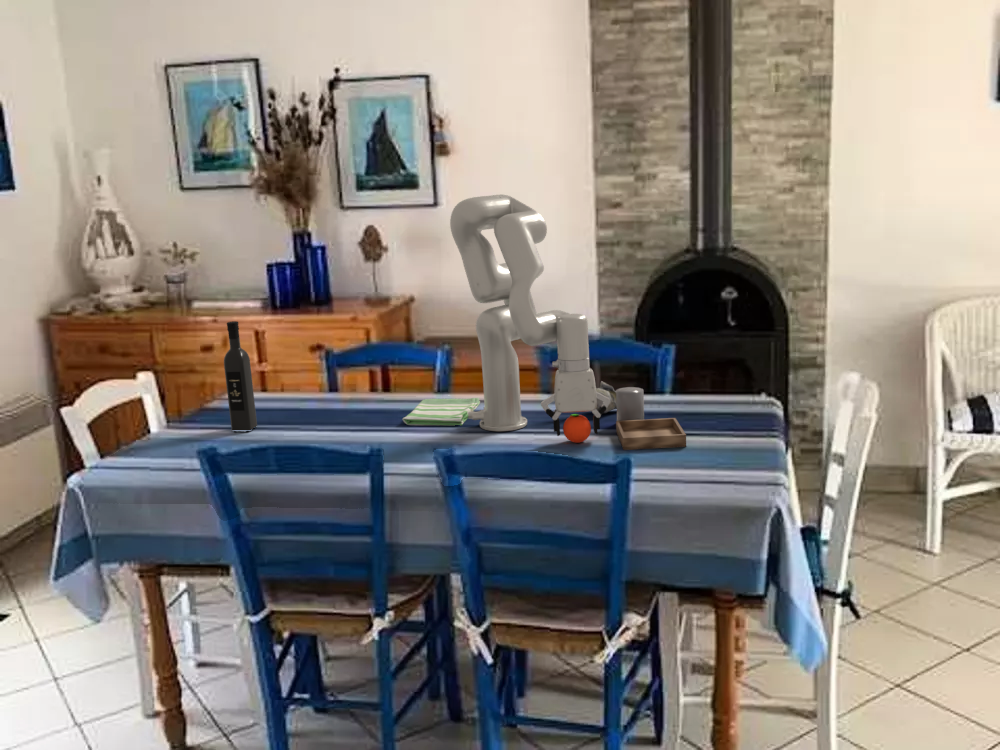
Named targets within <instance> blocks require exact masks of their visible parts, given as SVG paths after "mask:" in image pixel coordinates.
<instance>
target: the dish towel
mask: <svg viewBox="0 0 1000 750" xmlns="http://www.w3.org/2000/svg"><path fill="white" fill-rule="evenodd" d="M480 404H481V401H480V397H472V398H426V399H425V398H424V399H422V400H421V401H420V402H418V404H417V405H416V406H415V407H414V409H412V411H410V413H408V414H407V415H406V416H405V417H403V418H402V419H401V420H402V421H403V423H404V424H406V425H407V426H455V425H460V426H459V427H462V426H463V424H464V423H465V422H466V421H467V420H468V412H472V411H475V410H476V409H477V408H478V407H479V405H480Z"/></svg>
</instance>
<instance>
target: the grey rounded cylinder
mask: <svg viewBox="0 0 1000 750" xmlns="http://www.w3.org/2000/svg"><path fill="white" fill-rule="evenodd" d="M615 391H616V404H617V409H616V421H626V420H645V398H644V389H643V388H641V387H634V386H627V387H620V388H617V389H616V390H615Z"/></svg>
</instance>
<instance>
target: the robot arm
mask: <svg viewBox="0 0 1000 750" xmlns="http://www.w3.org/2000/svg"><path fill="white" fill-rule="evenodd" d="M449 220H450V221H449V225H450V227H449V228H450V232H451V236H452V239H453V240H454V243H455V245H456V246H457V247H456V248H457V249H458V251H459V253H460V256H461V257H460V258H461V260H462V265H463V267H464V270H465V274H466V278H467V282H468V285H469V288H470V291H471V294H472V297H473V298H474V299H475V301H476V302H478V303H480V304H492V303H497V302H501V301H503V302H504V305H499V306H493V307H491V308H488V309H485V310H483V311H482V312H481V313H480V314H479V315H478V316H477V319H476V321H475V332H476V335H477V340H478V343H479V348H480V356H481V358H480V359H481V369H482V370H481V371H482V384H483V402H484V404H483V405H484V407H483V409H480V410H479V411H475V410H473V411H472V412H468V418H467V420H472V421H477V420H478V421H479V420H480V421H479V427H480V428H481V429H483V430H485V431H491V432H509V431H510V432H511V431H516V430H519V429H523V428H524V427H526V426H527V425H528V419H527V418H526V417H525V416H522V407H521V389H520V388H521V387H520V366H519V359H518V357H519V356H518V355H517V352H516V350H515V348H514V347H513V345H512V342H513V341H516V340H521V341H522V342H523V343H524V344H525V345H528V346H530V347H534V346H535V347H536V346H540V345H544V344H547V343H548V344H549V343H552V342H557V344H556V345H557V359H556V360H555V361H552V362H551V363H552V368H556V369H557V370H556V371H555V376H554V377H555V378H554V393H553V394H552V395H550V396H549V397H547V398H545V399H544V400H542V401H541V402H540V406H541V408H542V409H543V411H545V414H547V416H548V417H550V418H551V419H552V423H553V432H554V433H556V436H557V437H559V436H561V427H560V425H561V423H560V418H559V417H560V416H561V414H564V413H565V414H567V413H569V414H570V413H583V412H585V413H586V412H592V414H593V416H592V423H593V424H592V426H593V427H592V428H593V432H594V434H598V430H600V429H601V426H600V425H601V424H600V418H601V416H602V415H603V414H605V413H604V412H605V411H606V409H607V407H608V405H609V403H610V401H611V400H610V398H608V397H606V396H604V395H602V394H600V393H598V392H596V388H597V386H596V380H595V379H596V378H595V374H594V371H593V369H592V368H591V367H590V348H589V347H590V345H589V325H588V324H589V322H588V318H587V317H586V315H585V314H582V313H569V312H566V311H563V310H559V309H554V310H548V311H543V312H540V313H537V310H536V307H535V303H534V299H533V295H532V292H531V289H532V288H531V287H532V285H533V283H534V282H535V281H536V279H537V278H539V277H540V276H542V274H543V272H544V270H545V266H544V263H543V261H542V259H541V256H540V254H539V251H538V248H537V246H536V244H540V243H541V242H543V241H544V240H545V238H546V237H547V234H548V232H547V231H548V227H547V224H546V221H545V218H543V216H542V215H541V214H540V213H539V212H538V211H537V210H535V209H534V208H533V207H531V206H529V205H527V204H525V203H524V202H522V201H519V200H518V199H516V198H515V197H513V196H511V195H507V194H494V195H493V194H492V195H484V196H483V195H480V196H473V197H469V198H466V199H462V200H461V201H460V202H458V203H457V204H456V205H455V206H454V208H453V210H452V212H451V215H450V219H449ZM492 229H493V233H494V236H495V239H496V241H497V245H498V246H499V248H500V252H501V255H502V257H503V260H504V262H505V263H504V262H502V263H498V261H497V258H496V255H495V250H494V248H493V245H492V244H491V243H490V241H489V239H488V238H486V237H485V235H484V234H483V233H482V231H485V230H492ZM597 398H598V399H600V400H602V401H603V404H602V406H601V407H600V408H599V409H597V408H596V407H597ZM553 402H554V406H555V407H554V408H555V409H554V410H552V409H551V408H550V407H549V404H551V403H553Z"/></svg>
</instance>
